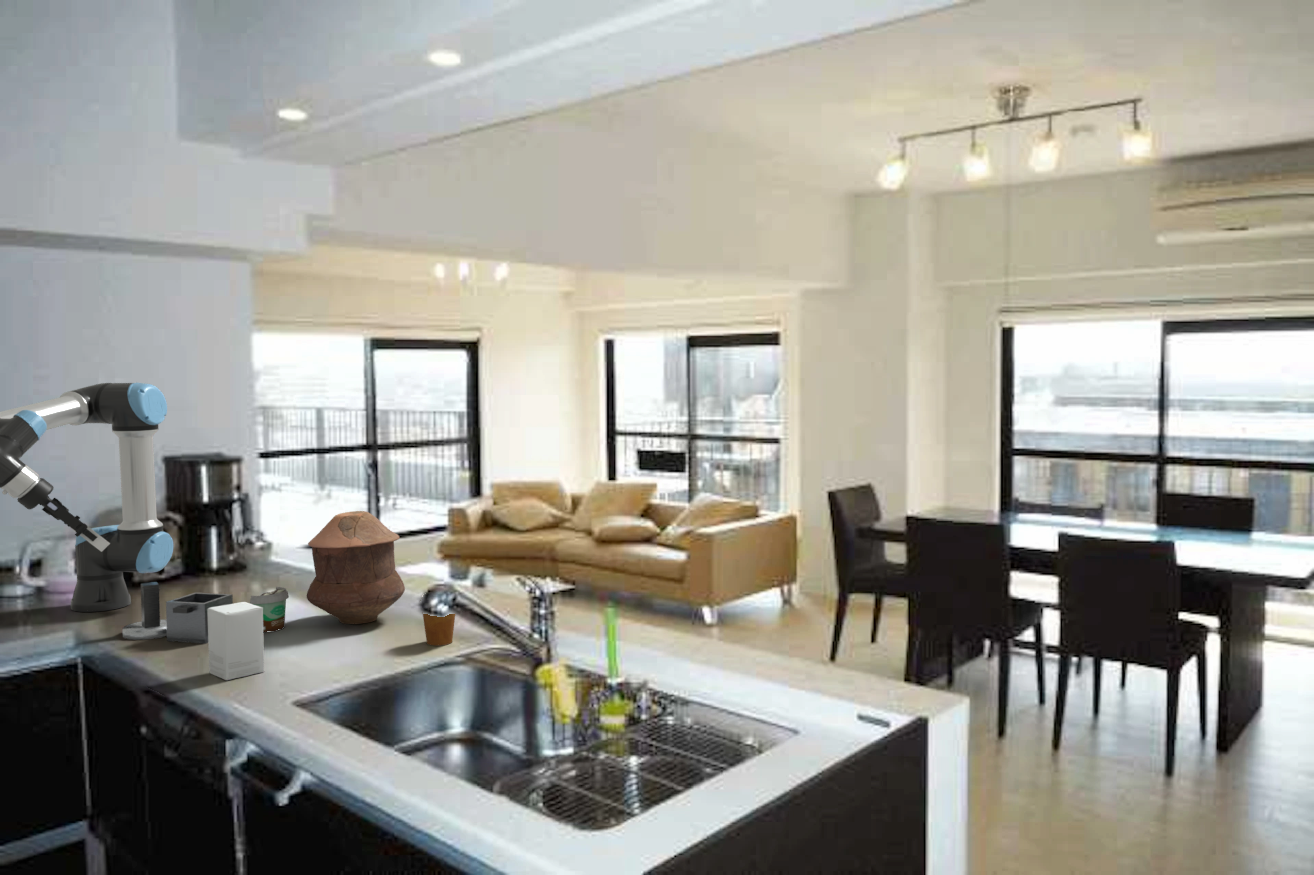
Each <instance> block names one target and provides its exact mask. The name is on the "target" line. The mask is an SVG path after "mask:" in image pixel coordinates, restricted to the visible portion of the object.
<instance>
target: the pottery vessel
mask: <svg viewBox="0 0 1314 875" xmlns="http://www.w3.org/2000/svg"><path fill="white" fill-rule="evenodd" d="M398 540H400V535H399V534H397V533H395V532H393V530H390V528H388V527H387V526H386V525H385V524H384V523H383V522H382V521H381V520H379V518H377V517H376V516H374V514H373V513H370V512H368V511H367V510H366V511H365V510H364V511H363V510H355V511H347V512H340V513H338V514H335V515H334V516H333V517H332V518H331V519H330V521H329V522H327V523H326V525H325V526H324V527H323V528H322V529H321V530H319V532H318V533H317V534H316V535H315V536H314V537H313V538H312V539H311V540H310V541H308V543H307V545H308V546H309V547H311V548H312V551H311V552H312V553H311V555H312V560H313V566H314V573H315V577H314V578H313V580H312V582H311V583H310V584H309V587H308V590H307V592H306V599H307V601H308V602H309V603H310V604H311V605H313V606H314V607H316V608H319V609H320V610H322V611H323V612H325V613H327V614H329V615H331V616H332V617H334V618H337V619H338V621H339V623H341V624H346V625H360V624H367V623H372V622H374V621H376V620H378V616H379V615H380V614H382V613H383V612H385V611H386V610H388V609H389V608H390V607H391V606H393V605H394V604H395V603H396V602H397V601H398V600H399V599H400V598H401V597H402V596H403V594H404V593H405V591H406V587H405V583H404V582H403V580H402V577H401V576H400V574H399V573H398V572H397V570H396V561H395V542H396V541H398Z"/></svg>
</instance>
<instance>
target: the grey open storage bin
mask: <svg viewBox="0 0 1314 875" xmlns="http://www.w3.org/2000/svg"><path fill="white" fill-rule="evenodd" d="M229 604H234V603H233V594H230V593H215V592H213V593H212V592H210V593H209V592H193V593H189V594H187V595H183V596H180V597H178V598H177V597H176V598H173V599H171V600H167V601H165V611H166V613H165V615H166V617H165V618H166V619H165V620H166V621H167V636H166V641H167V642H174V641H178V642H177V643H189V642H191V643H190V644H203V645H204V644H205V645H206V644H208V611H207V609H208V608H211V607H216V606H222V605H229Z"/></svg>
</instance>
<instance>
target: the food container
mask: <svg viewBox="0 0 1314 875" xmlns="http://www.w3.org/2000/svg"><path fill="white" fill-rule="evenodd" d="M289 597H290V596H289V592H288V590H287V588H286V587H283V586H275V590H272V591H269V592H264V593H262V594H260V595H250V599H249V603H250V604H253V605H256V606H259V607H263V632H267V631H274V632H277V631H276V630H278V629H281V630H283V629H284V628H285V626H286V624H285V623H286V605H287V600H288V599H289ZM283 627H284V628H283ZM282 628H283V629H282ZM278 631H279V630H278ZM267 633H268V632H267Z"/></svg>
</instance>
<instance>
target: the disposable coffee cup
mask: <svg viewBox="0 0 1314 875" xmlns="http://www.w3.org/2000/svg"><path fill="white" fill-rule="evenodd" d="M424 594H425V593H423V594H422V595H421V597H420V600H419V602H420V601H421V599H422V597H423V595H424ZM422 617H423V626H424V633H425V639H426V644H427V645H430V646H436V647H437V646H447V645H449V644H451V643H453V637H454V629H455V621H456V620H455V619H456V613H455V614H449V615H447V616H445V617H437V616H430V615H428V614H423V613H422Z"/></svg>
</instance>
